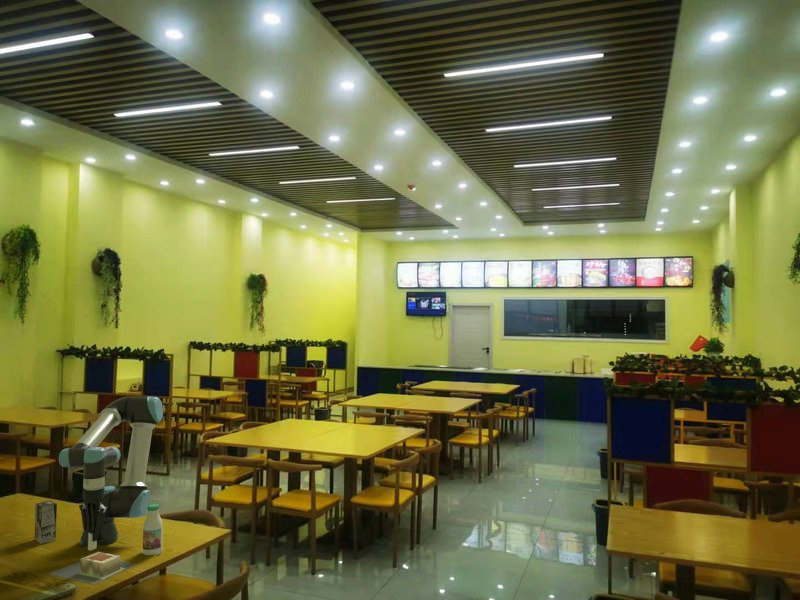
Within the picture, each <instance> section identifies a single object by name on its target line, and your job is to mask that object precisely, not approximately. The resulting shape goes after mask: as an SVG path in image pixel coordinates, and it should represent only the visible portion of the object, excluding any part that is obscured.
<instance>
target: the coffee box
mask: <svg viewBox="0 0 800 600" xmlns="http://www.w3.org/2000/svg"><path fill="white" fill-rule="evenodd" d="M34 505H35V507H34V511H35V512H34V540H35V541H37V542H38V543H39V544H46V543H49V542H54V541H56V539H57V538H56V536H57V513H58V512H57V511H58V504H57V503H56V502H54V501H52V500H46V501H41V502H37V503H36V502H35V504H34Z"/></svg>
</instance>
